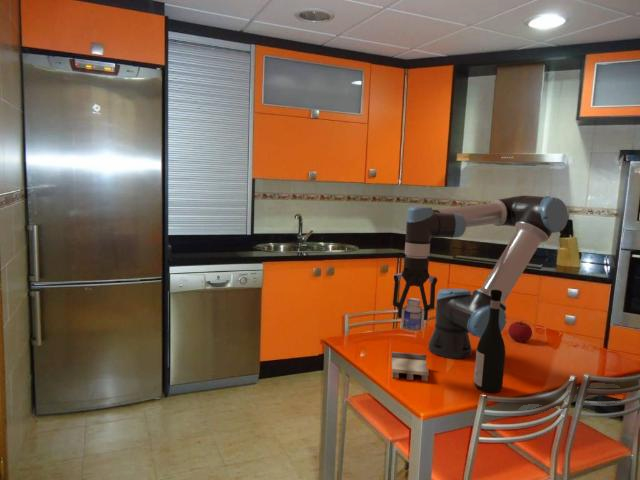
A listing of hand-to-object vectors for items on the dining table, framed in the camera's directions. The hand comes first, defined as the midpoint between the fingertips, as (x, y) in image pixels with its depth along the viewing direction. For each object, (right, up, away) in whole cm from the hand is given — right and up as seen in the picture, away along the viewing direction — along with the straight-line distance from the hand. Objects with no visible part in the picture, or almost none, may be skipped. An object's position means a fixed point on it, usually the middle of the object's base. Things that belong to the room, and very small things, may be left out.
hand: (411, 328), depth 147 cm
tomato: (+51, -12, +39) cm, 65 cm away
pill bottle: (0, -1, 0) cm, 1 cm away
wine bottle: (+21, -17, -7) cm, 28 cm away
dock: (-1, -14, +2) cm, 15 cm away
